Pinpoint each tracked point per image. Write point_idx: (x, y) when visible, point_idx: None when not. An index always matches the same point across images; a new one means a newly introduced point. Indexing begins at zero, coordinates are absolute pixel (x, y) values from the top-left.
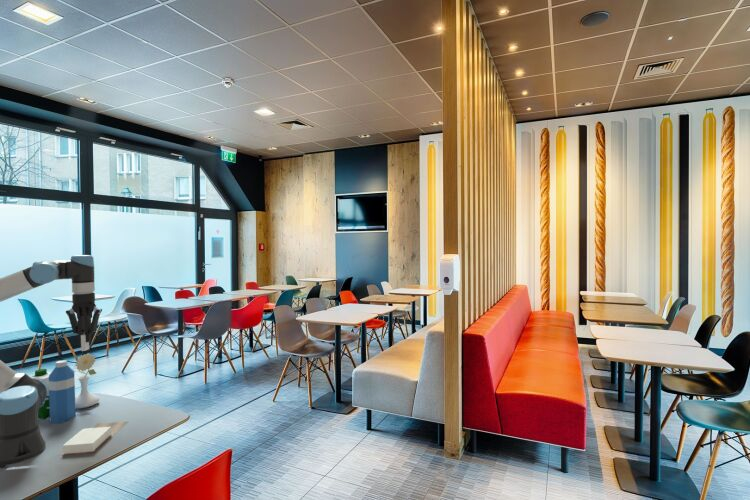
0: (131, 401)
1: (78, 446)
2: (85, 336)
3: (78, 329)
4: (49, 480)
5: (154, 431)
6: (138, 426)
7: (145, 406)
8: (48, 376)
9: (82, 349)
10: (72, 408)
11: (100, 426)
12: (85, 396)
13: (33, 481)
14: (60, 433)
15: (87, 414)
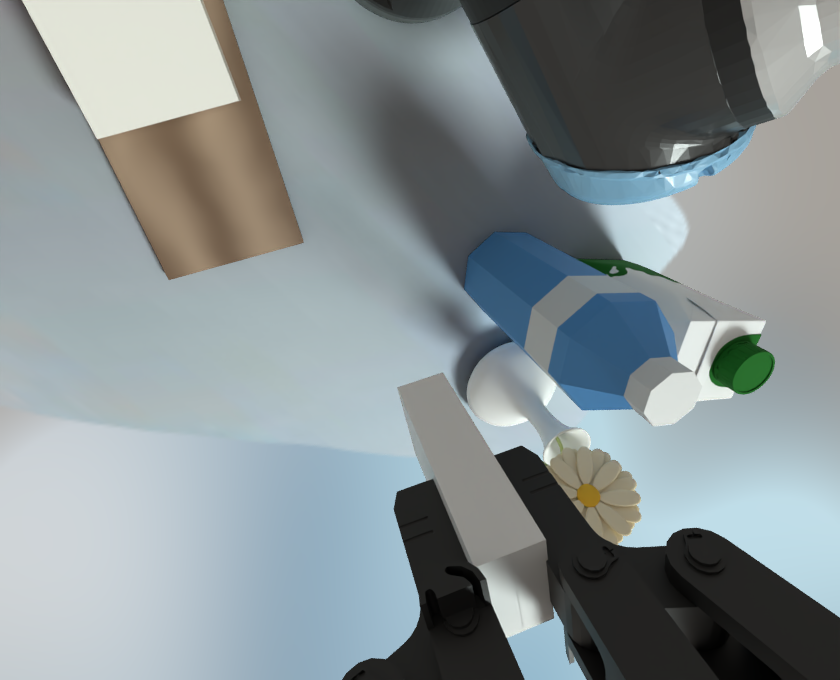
0: (355, 445)
1: None
2: (465, 551)
3: (673, 642)
4: None
5: None
6: (84, 257)
7: (253, 425)
8: (684, 351)
9: (433, 386)
10: (481, 292)
11: (261, 215)
12: (511, 390)
13: None
14: (404, 147)
15: (437, 319)
